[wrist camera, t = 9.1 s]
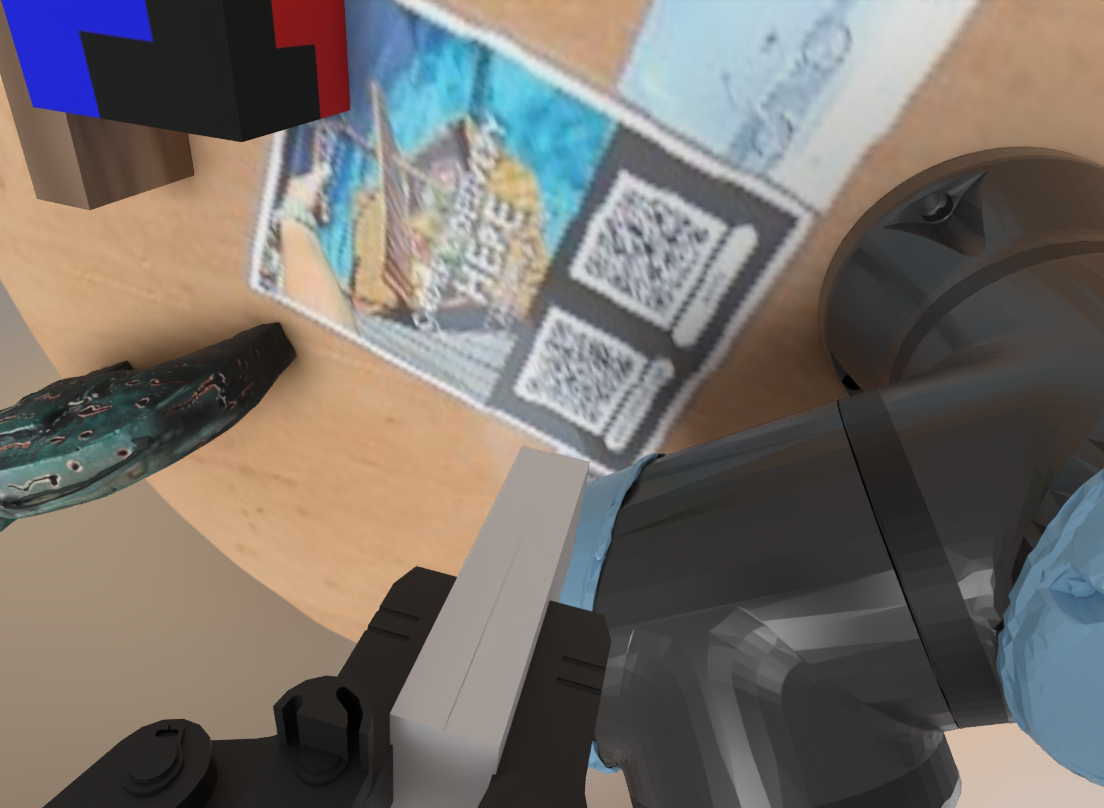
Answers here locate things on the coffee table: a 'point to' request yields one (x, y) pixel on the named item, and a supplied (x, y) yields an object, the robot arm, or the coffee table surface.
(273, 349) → the ceramic cat
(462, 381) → the coffee table surface
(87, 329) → the coffee table surface
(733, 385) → the coffee table surface
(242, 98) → the puzzle toy
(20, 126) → the walnut board
